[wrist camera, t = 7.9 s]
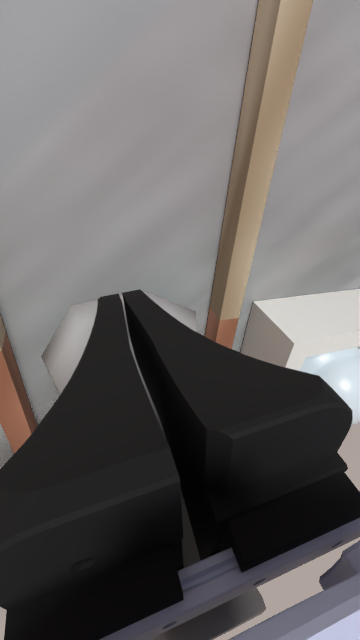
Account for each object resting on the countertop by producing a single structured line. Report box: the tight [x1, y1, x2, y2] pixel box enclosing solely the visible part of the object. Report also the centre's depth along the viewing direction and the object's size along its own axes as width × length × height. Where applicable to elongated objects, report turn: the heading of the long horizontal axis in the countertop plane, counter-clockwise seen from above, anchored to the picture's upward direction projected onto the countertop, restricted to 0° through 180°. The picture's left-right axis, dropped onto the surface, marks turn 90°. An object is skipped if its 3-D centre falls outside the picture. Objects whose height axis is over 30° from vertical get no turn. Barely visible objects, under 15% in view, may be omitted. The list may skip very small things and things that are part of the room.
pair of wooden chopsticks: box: [0, 0, 313, 454], centre depth 13 cm, size 11×23×1 cm, turn 176°
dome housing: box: [240, 289, 360, 371], centre depth 18 cm, size 8×8×4 cm
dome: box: [300, 347, 360, 426], centre depth 17 cm, size 5×5×5 cm
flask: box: [41, 291, 266, 640], centre depth 11 cm, size 7×7×10 cm
